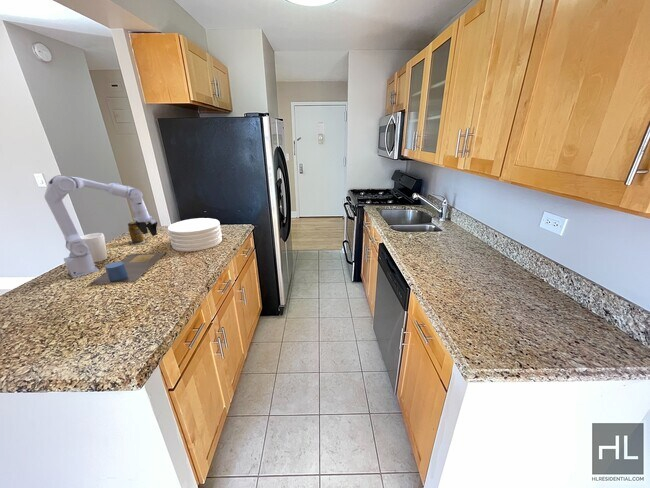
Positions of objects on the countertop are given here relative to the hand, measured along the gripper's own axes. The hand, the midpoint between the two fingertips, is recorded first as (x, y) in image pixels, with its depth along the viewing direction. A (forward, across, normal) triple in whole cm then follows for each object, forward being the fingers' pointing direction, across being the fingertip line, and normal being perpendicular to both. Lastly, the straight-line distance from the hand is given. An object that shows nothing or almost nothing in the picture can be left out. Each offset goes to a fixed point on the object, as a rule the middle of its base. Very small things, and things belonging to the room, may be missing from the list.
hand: (150, 234), depth 141 cm
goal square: (+10, -3, +10) cm, 14 cm away
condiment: (+11, +25, -5) cm, 27 cm away
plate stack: (+13, -9, -19) cm, 25 cm away
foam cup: (+8, +17, +19) cm, 27 cm away
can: (+8, -14, +28) cm, 32 cm away
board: (+9, -8, +18) cm, 21 cm away
